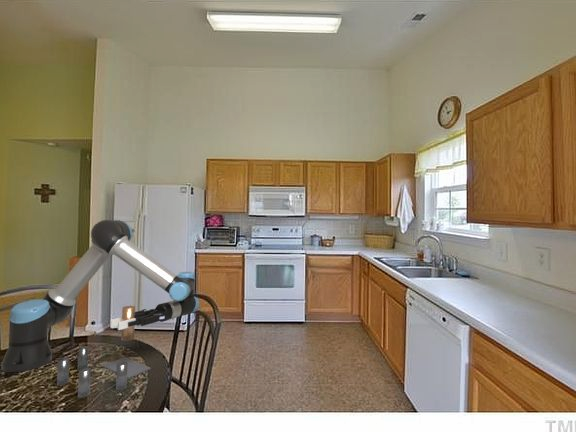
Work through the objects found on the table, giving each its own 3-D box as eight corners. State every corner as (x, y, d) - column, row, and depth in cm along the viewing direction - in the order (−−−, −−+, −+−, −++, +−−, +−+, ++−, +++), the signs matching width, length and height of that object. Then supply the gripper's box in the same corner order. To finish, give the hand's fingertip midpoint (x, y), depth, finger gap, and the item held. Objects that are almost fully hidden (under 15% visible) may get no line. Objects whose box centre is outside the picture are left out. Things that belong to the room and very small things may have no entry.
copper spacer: (118, 339, 118) (119, 307, 119) (129, 336, 122) (130, 305, 123) (125, 341, 116) (126, 309, 117) (136, 338, 120) (137, 307, 120)
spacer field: (47, 379, 109) (48, 356, 109) (84, 366, 119) (85, 345, 120) (90, 404, 94) (91, 377, 95) (128, 387, 105) (129, 363, 105)
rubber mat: (101, 366, 119) (102, 365, 119) (124, 358, 127) (124, 357, 127) (128, 378, 111) (128, 377, 111) (150, 369, 118) (150, 367, 118)
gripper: (181, 323, 130) (128, 340, 110) (154, 316, 139) (101, 330, 119) (181, 305, 131) (128, 318, 110) (155, 299, 139) (101, 311, 119)
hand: (114, 325), depth 115 cm, fingers closed on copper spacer, 4 cm apart
